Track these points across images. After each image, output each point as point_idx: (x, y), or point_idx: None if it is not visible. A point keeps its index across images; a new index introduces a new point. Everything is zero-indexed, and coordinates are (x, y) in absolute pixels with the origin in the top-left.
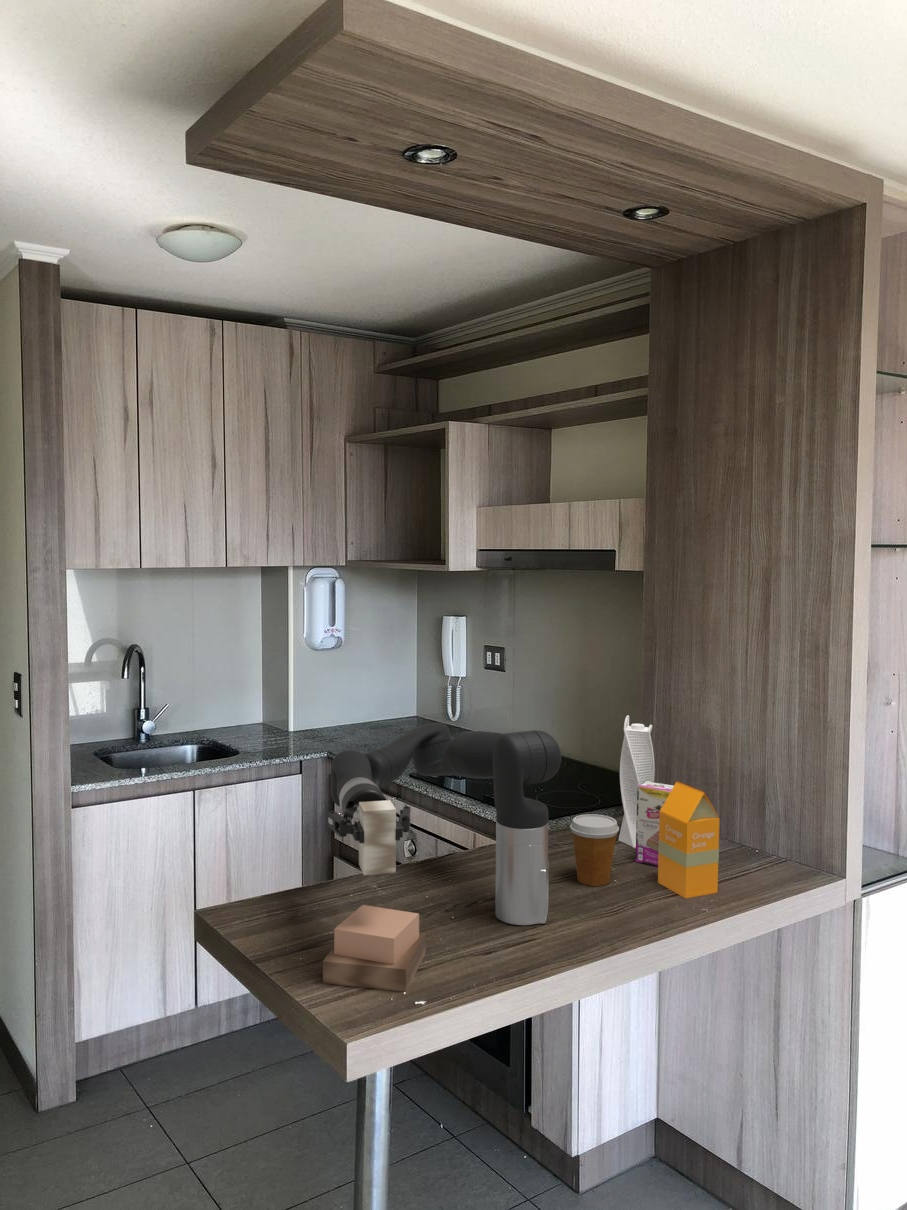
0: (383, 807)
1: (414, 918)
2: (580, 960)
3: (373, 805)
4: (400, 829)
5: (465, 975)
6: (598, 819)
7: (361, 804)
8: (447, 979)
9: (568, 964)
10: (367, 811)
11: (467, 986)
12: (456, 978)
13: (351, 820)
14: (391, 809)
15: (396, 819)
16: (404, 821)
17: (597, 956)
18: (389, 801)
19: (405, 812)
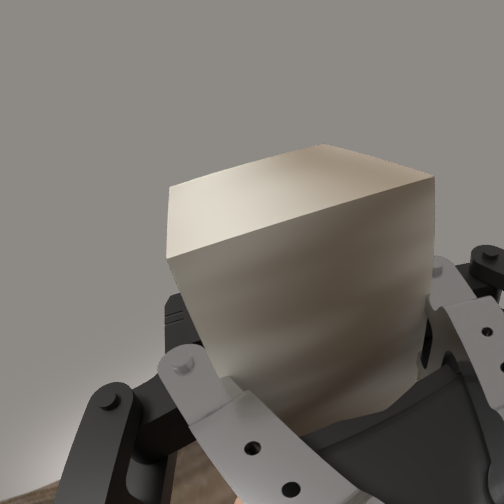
0: (232, 178)
1: (236, 499)
2: (32, 496)
3: (300, 174)
4: (180, 296)
5: (176, 484)
6: None
7: (387, 165)
8: (204, 473)
9: (46, 491)
10: (308, 149)
11: (178, 455)
12: (190, 476)
13: (453, 266)
14: (191, 180)
15: (178, 346)
16: (136, 391)
17: (15, 498)
18: (179, 237)
19: (88, 479)
